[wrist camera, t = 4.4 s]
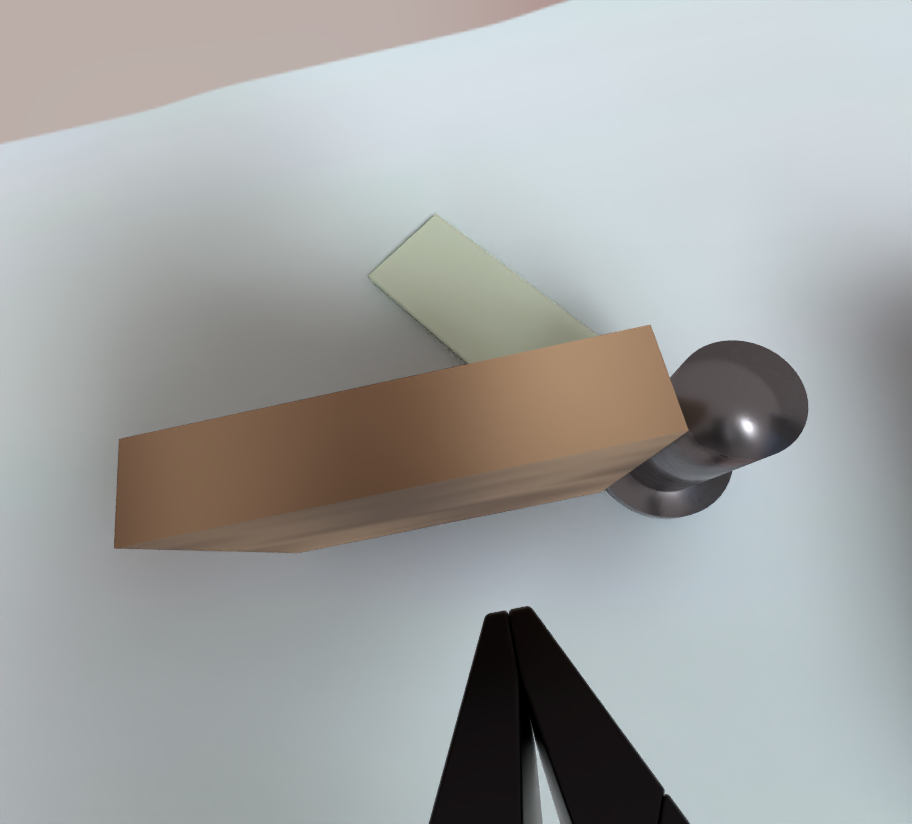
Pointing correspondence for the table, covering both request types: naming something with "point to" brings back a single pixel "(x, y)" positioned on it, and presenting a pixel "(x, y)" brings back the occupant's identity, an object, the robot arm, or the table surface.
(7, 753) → the table surface
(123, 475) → the arm
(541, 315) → the stripe
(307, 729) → the table surface
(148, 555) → the table surface
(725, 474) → the pivot post
